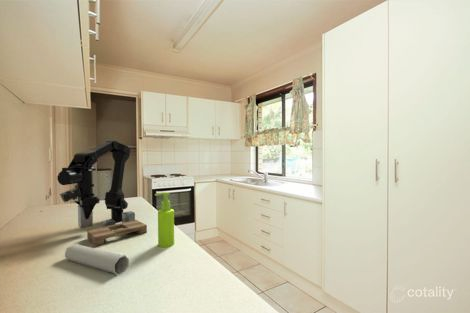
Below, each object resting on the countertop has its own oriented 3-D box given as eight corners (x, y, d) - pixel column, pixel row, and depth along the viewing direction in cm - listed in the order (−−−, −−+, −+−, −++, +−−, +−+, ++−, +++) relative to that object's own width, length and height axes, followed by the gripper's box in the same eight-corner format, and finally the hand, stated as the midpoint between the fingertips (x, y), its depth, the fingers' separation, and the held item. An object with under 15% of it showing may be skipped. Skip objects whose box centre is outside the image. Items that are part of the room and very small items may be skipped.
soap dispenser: (154, 243, 89) (154, 192, 89) (173, 240, 92) (172, 190, 91) (156, 249, 84) (155, 194, 83) (175, 245, 86) (174, 193, 86)
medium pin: (122, 225, 112) (122, 212, 112) (131, 222, 115) (131, 211, 115) (125, 227, 109) (125, 214, 109) (135, 224, 112) (134, 212, 112)
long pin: (78, 226, 99) (77, 205, 99) (89, 223, 102) (89, 203, 102) (80, 228, 96) (80, 207, 96) (92, 226, 99) (92, 205, 99)
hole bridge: (87, 239, 94) (87, 230, 94) (136, 227, 108) (136, 219, 108) (95, 246, 86) (95, 237, 86) (146, 232, 101) (146, 224, 101)
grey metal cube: (101, 229, 105) (101, 221, 105) (112, 227, 109) (111, 219, 109) (104, 232, 102) (104, 223, 102) (115, 229, 106) (115, 220, 105)
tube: (58, 250, 74) (111, 264, 64) (74, 239, 79) (126, 251, 69) (64, 263, 76) (116, 279, 66) (79, 252, 81) (131, 265, 70)
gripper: (57, 181, 99) (58, 217, 99) (66, 186, 86) (67, 227, 86) (87, 179, 107) (87, 212, 107) (99, 183, 94) (100, 220, 95)
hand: (85, 217), depth 99 cm, fingers closed on long pin, 4 cm apart
